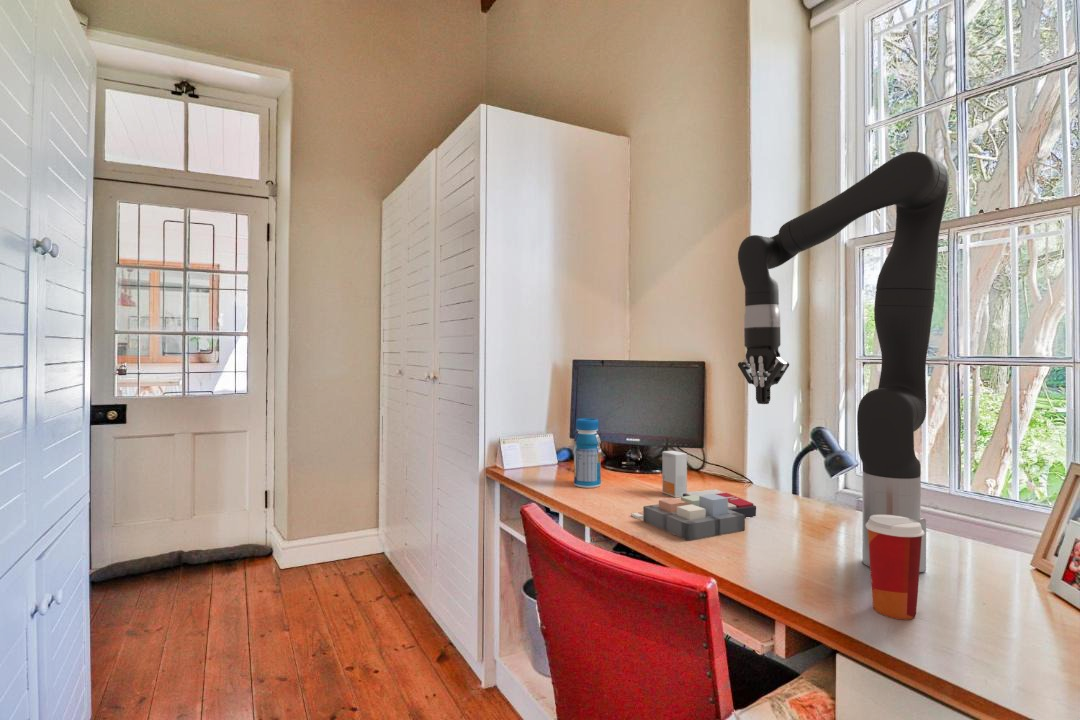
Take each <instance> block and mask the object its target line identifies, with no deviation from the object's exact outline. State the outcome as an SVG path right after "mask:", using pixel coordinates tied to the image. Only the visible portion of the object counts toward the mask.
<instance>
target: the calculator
mask: <svg viewBox="0 0 1080 720" xmlns="http://www.w3.org/2000/svg"><path fill="white" fill-rule="evenodd" d="M709 494H716V495H720V496H723V497H726V498H728V509H729V510H732V511H735V512H738V513H741V514H744V515H745V519H747V518H746V517H750V518H754V517H753V516H757V506H756V505H755V504H754V502H752V501H748V500H746V499H743V498H741V497H738V496H737V495H734V494H731V493H728V492H724V491H721V490H719V489H716V488H715V489H705V490H698V491H687V493H685V494H683V497H684V496H691V495H697V496H702V495H709Z"/></svg>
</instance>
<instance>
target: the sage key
mask: <svg viewBox="0 0 1080 720" xmlns="http://www.w3.org/2000/svg"><path fill="white" fill-rule="evenodd" d="M680 500H681V501H684V502H686V505H691V504H693V505H695V506H698V507H699V496H697V495H691V496H684V497H680Z"/></svg>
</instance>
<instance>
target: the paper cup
mask: <svg viewBox="0 0 1080 720" xmlns="http://www.w3.org/2000/svg"><path fill="white" fill-rule="evenodd" d="M865 526H866V528H867V529H868V539H869V556H870V567H869V568H870V569H869V570H870V584H871V586H870V587H871V599H872V606H873V610H874V611H875V612H876V613H878V614H880V615H882V616H885V617H887V618H891V619H895V620H902V621H903V620H905V621H906V620H907V621H908V620H913V619H915V617H916V614H917V608H918V607H917V606H918V595H919V594H918V593H919V584H920V583H919V582H920V581H919V579H920V573H919V569H920V555H921V540H922V536H923V535H924V531H923V530H922V528H921V524H920V523H917V522H916V521H914V520H912V519H909V518H906V517H901V516H895V515H872V516H870V518H869V520H868V522H867V523H866V525H865Z"/></svg>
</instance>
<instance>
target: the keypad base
mask: <svg viewBox="0 0 1080 720" xmlns="http://www.w3.org/2000/svg"><path fill="white" fill-rule="evenodd" d="M642 512H643V518H642V519H643V522H644V523H646V524H649V525H651V526H654V527H656V528H658V529H660V530H662V531H665V532H667V533H669V534H671V535H675V536H677V537H678V538H681V539H683V540H686V541H688V542H690V541H691V542H692V541H696V540H701V539H706V537H707V538H710V537H711V536H712V537H718V536H721V535H722V534H723V535H728V534H732V533H733V532H734V533H738V532H744V530H746V524H745V523H746V518H745V515H744V514H741V513H738V512H735V511H732V510H729V509H728V514H725V515H719V516H710V515H707V514H706V518H701V519H695V520H688V519H685V518H683V517H680V516H677V512H673V513H670V512H667V511H665V510H662V509H659V503H657V504H651V505H644V506H643V511H642ZM727 533H728V534H727ZM717 535H718V536H717ZM712 537H711V538H712Z"/></svg>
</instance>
